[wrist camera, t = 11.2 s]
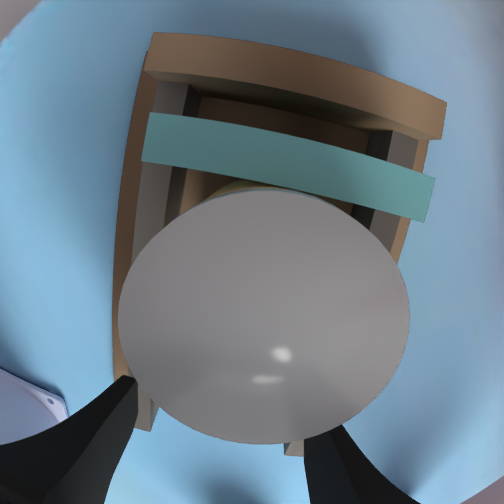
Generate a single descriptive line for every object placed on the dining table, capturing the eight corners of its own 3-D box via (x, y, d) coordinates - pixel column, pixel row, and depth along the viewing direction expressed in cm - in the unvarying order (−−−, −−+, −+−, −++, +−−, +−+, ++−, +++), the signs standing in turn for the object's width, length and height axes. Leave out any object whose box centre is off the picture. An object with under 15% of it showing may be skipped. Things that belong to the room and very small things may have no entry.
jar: (191, 278, 13) (122, 417, 6) (210, 157, 12) (127, 167, 4) (308, 300, 14) (350, 450, 6) (338, 183, 12) (448, 234, 4)
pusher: (196, 156, 12) (141, 161, 6) (201, 130, 11) (149, 111, 6) (350, 189, 12) (423, 222, 6) (357, 164, 12) (435, 178, 6)
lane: (118, 387, 16) (89, 442, 12) (151, 54, 11) (106, 18, 7) (323, 424, 17) (335, 484, 12) (426, 116, 12) (488, 109, 7)
